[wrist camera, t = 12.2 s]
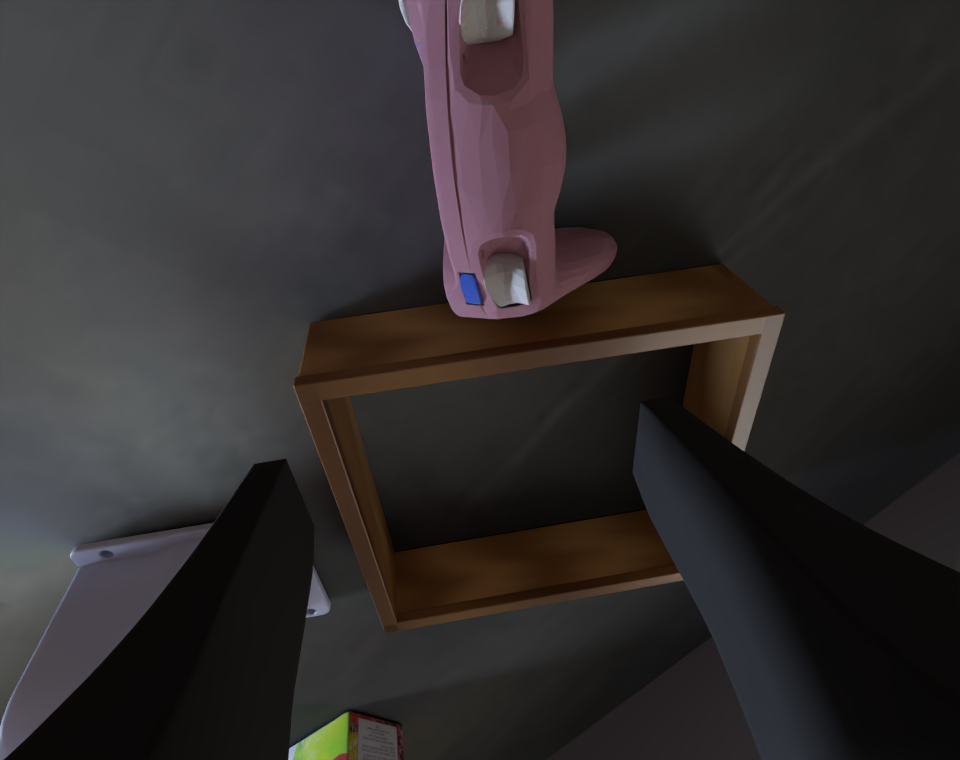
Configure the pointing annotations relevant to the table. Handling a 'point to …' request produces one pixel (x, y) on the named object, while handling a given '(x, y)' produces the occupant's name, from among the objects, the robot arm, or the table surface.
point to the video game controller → (499, 156)
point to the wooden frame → (513, 347)
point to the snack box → (352, 740)
